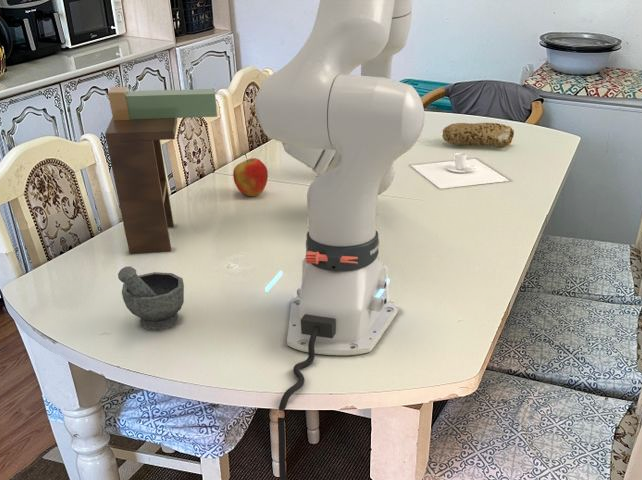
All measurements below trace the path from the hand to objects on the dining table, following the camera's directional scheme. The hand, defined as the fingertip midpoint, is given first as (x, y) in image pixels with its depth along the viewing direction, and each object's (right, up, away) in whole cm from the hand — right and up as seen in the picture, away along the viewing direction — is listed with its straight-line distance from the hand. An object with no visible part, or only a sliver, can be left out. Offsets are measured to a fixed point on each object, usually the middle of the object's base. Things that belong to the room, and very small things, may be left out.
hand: (262, 119), depth 143 cm
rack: (-21, -24, +4) cm, 32 cm away
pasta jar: (-18, -1, -4) cm, 19 cm away
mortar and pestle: (-13, -43, -26) cm, 52 cm away
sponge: (+51, +14, +67) cm, 86 cm away
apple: (-8, -9, +28) cm, 30 cm away
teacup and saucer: (+44, 0, +45) cm, 63 cm away
